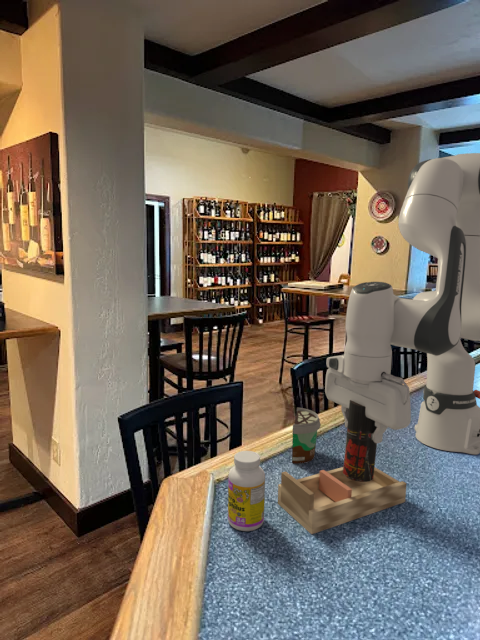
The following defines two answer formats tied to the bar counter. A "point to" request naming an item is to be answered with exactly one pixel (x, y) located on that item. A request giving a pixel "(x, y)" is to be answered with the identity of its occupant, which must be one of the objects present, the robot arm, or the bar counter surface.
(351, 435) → the deodorant
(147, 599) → the bar counter surface
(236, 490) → the supplement bottle
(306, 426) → the food container
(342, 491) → the plate
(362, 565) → the bar counter surface
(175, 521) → the bar counter surface
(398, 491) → the tray
